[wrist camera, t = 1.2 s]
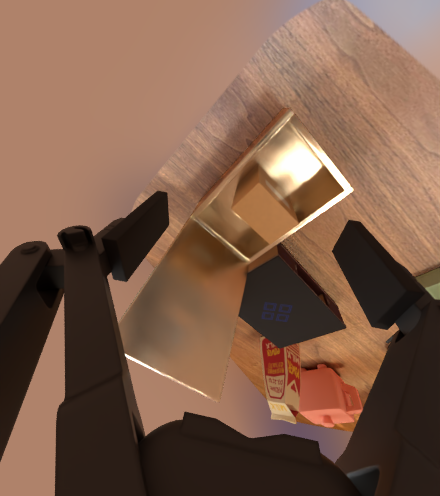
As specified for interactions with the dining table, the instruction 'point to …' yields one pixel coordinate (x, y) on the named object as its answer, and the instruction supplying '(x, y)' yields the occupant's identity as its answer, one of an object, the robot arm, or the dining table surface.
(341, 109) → the dining table surface
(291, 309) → the book
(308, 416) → the teapot
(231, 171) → the gold metal box
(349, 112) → the dining table surface
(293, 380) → the milk carton
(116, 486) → the robot arm
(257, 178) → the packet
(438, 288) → the tray
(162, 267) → the lid
